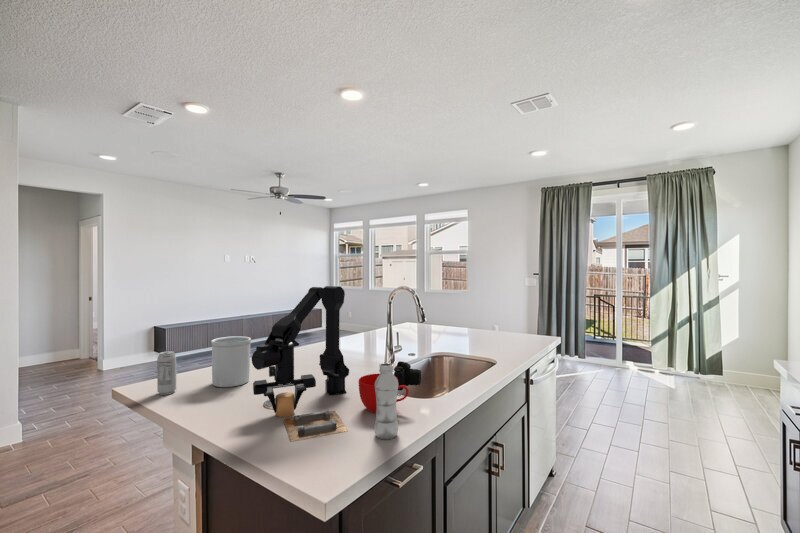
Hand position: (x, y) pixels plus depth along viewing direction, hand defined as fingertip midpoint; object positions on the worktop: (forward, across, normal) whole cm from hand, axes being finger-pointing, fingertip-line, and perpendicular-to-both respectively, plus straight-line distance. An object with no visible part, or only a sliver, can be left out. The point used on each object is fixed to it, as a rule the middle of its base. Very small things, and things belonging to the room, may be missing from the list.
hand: (284, 410), depth 119 cm
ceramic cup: (+1, -30, +10) cm, 32 cm away
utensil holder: (+1, +16, -43) cm, 46 cm away
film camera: (+1, -48, -10) cm, 49 cm away
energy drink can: (+1, +38, -39) cm, 54 cm away
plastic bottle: (+1, -24, +28) cm, 37 cm away
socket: (+1, -7, +13) cm, 15 cm away
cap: (+1, 0, 0) cm, 1 cm away
